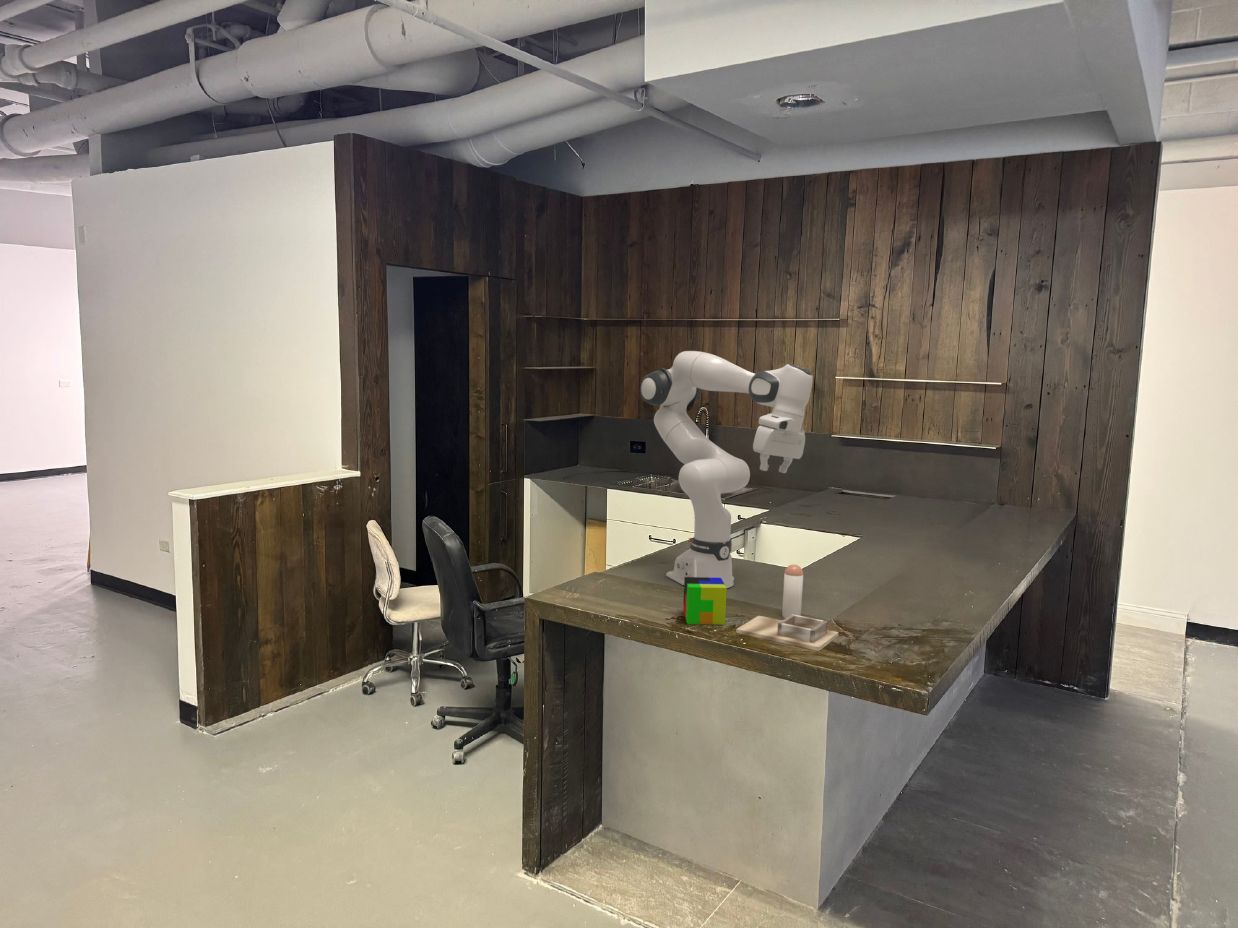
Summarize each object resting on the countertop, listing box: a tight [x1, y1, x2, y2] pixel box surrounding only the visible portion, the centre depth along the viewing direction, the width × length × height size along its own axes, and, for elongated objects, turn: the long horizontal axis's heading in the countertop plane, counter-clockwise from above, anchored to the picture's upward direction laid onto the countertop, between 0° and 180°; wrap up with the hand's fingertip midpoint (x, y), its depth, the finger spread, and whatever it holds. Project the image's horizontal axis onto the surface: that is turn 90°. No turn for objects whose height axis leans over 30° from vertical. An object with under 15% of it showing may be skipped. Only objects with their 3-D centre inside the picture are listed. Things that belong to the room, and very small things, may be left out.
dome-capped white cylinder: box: [781, 563, 804, 619], centre depth 232 cm, size 5×5×14 cm
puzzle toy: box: [682, 577, 728, 626], centre depth 229 cm, size 10×10×10 cm
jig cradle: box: [735, 614, 839, 652], centre depth 218 cm, size 22×14×4 cm, turn 57°
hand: (772, 471), depth 238 cm, fingers open, 8 cm apart
